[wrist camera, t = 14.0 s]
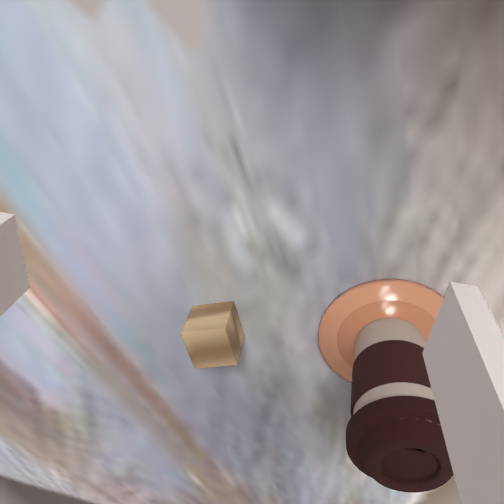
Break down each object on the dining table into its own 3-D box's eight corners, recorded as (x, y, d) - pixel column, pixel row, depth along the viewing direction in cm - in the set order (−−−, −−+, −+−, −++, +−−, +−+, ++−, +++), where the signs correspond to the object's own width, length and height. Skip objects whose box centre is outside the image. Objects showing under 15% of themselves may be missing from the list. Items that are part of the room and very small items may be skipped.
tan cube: (192, 305, 51) (180, 334, 47) (233, 300, 50) (224, 329, 46) (205, 338, 54) (194, 368, 49) (244, 334, 52) (237, 365, 48)
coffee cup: (384, 388, 52) (401, 517, 39) (324, 338, 49) (321, 459, 37) (457, 345, 47) (504, 477, 34) (395, 289, 45) (420, 407, 32)
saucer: (331, 268, 46) (331, 274, 45) (480, 291, 45) (483, 298, 44) (309, 371, 54) (309, 378, 53) (435, 393, 52) (437, 401, 52)
